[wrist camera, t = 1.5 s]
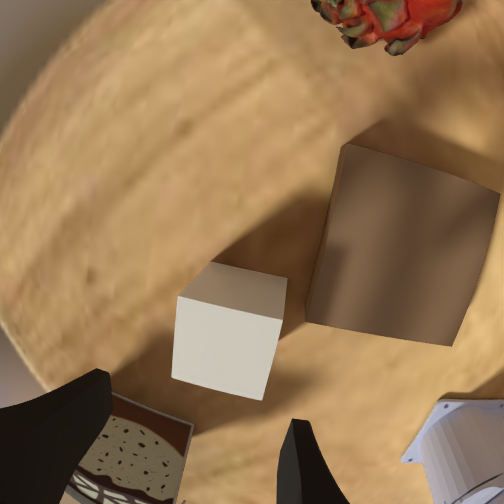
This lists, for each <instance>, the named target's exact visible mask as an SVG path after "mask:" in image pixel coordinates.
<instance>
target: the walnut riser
mask: <svg viewBox="0 0 504 504" xmlns="http://www.w3.org/2000/svg"><path fill="white" fill-rule="evenodd" d="M499 199H500V193H497V192H495V191H493V190H490V189H488V188H485V187H483V186H480V185H478V184H475V183H473V182H470V181H467V180H465V179H462V178H459V177H457V176H454V175H451V174H448V173H446V172H443V171H440V170H437V169H434V168H431V167H428V166H425V165H422V164H419V163H416V162H413V161H410V160H406V159H403V158H400V157H396V156H393V155H390V154H386V153H383V152H379V151H375V150H372V149H368V148H364V147H361V146H357V145H353V144H349V143H347V144H345V145H343V146H342V147H341V150H340V155H339V160H338V165H337V170H336V175H335V180H334V185H333V189H332V194H331V199H330V203H329V208H328V212H327V217H326V221H325V226H324V230H323V234H322V239H321V243H320V247H319V251H318V255H317V259H316V263H315V267H314V271H313V275H312V279H311V283H310V287H309V291H308V295H307V299H306V302H305V317H306V322H310V323H315V324H320V325H325V326H330V327H335V328H340V329H346V330H351V331H357V332H362V333H368V334H374V335H379V336H385V337H391V338H397V339H404V340H410V341H416V342H423V343H430V344H437V345H444V346H451V347H452V345H453V342H454V340H455V338H456V336H457V333H458V331H459V329H460V326H461V324H462V321H463V319H464V316H465V314H466V311H467V309H468V306H469V303H470V301H471V298H472V295H473V292H474V290H475V287H476V284H477V281H478V278H479V275H480V272H481V269H482V265H483V262H484V259H485V256H486V252H487V249H488V245H489V241H490V238H491V234H492V230H493V226H494V222H495V217H496V213H497V208H498V204H499Z"/></svg>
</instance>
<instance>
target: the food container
mask: <svg viewBox="0 0 504 504" xmlns="http://www.w3.org/2000/svg"><path fill="white" fill-rule="evenodd" d="M112 399H113V406H114V409H113V411H112V413H111V415H110V417H109V419H108V421H107V423H106V425H105V427H104V428H103V430H102V431H101V433H100V434H99V436H98V437H97V439H96V440H95V442H94V443H93V444H92V446H91V447H90V449H89V450H88V451H87V453H86V454H85V456H84V457H83V459H82V460H81V461H80V463H79V464H78V466H77V468H76V469H75V471H74V473H73V475H72V477H71V479H70V481H69V483H68V485H67V487H66V489H65V491H64V492H66V493H67V494H68V495H70V496H71V497H72V498H74V499H75V500H77V501H78V502H79V503H81V504H176V500H177V496H178V491H179V487H180V483H181V479H182V475H183V471H184V466H185V462H186V458H187V454H188V450H189V446H190V442H191V438H192V434H193V430H194V426H195V424H193V423H190V422H187V421H184V420H181V419H178V418H176V417H173V416H170V415H168V414H165V413H162V412H160V411H157V410H155V409H152V408H149V407H147V406H145V405H142V404H140V403H137V402H135V401H133V400H130V399H128V398H126V397H123V396H121V395H119V394H117V393H114V392H112ZM185 502H186V501H185V500H184V501H183V502H182V503H181V504H185Z"/></svg>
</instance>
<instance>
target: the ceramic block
mask: <svg viewBox="0 0 504 504" xmlns="http://www.w3.org/2000/svg"><path fill="white" fill-rule="evenodd" d="M287 279H288V278H285V277H280V276H275V275H271V274H266V273H261V272H257V271H252V270H247V269H243V268H238V267H234V266H229V265H224V264H220V263H215V262H211V261H210V262H209V263H208V264H207V265H206V266H205V267H204V268H203V269H202V271H201V272H200V273H199V274H198V275H197V276H196V277H195V278H194V279H193V280H192V281H191V282H190V283H189V284H188V286H187V287H186V288H185V289H184V290H183V291H182V292H181V293H180V294H179V295H178V300H177V311H176V322H175V334H174V347H173V361H172V377H171V378H174V379H178V380H181V381H185V382H188V383H192V384H195V385H199V386H202V387H206V388H210V389H214V390H218V391H222V392H226V393H230V394H234V395H238V396H243V397H247V398H252V399H256V400H261V401H262V398H263V395H264V391H265V387H266V384H267V380H268V376H269V373H270V369H271V365H272V361H273V358H274V354H275V350H276V346H277V342H278V338H279V334H280V330H281V326H282V322H283V316H284V307H285V298H286V288H287Z"/></svg>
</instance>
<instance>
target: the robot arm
mask: <svg viewBox="0 0 504 504" xmlns="http://www.w3.org/2000/svg"><path fill="white" fill-rule="evenodd" d="M446 404H447V405H446ZM113 409H114V406H113V399H112V391H111V383H110V373H108V372H106V371H103V370H100V369H98V368H96V369H94V370H92V371H90V372H88V373H86V374H84V375H83V376H81V377H79V378H77V379H75V380H73V381H71V382H69V383H67V384H65V385H63V386H61V387H59V388H58V389H55V390H53V391H51V392H49V393H46V394H44V395H42V396H40V397H37V398H35V399H33V400H30V401H27V402H24V403H21V404H17V405H13V406H9V407H5V408H0V504H59V503H60V500H61V498H62V496H63V494H64V491H65V489H66V487H67V485H68V483H69V481H70V479H71V477H72V475H73V473H74V471H75V469H76V468H77V466H78V464H79V463H80V461H81V460H82V459H83V457H84V456H85V454H86V453H87V451H88V450H89V449H90V447H91V446H92V444H93V443H94V442H95V440H96V439H97V437H98V436H99V434H100V433H101V431H102V430H103V428H104V427H105V425H106V423H107V421H108V419H109V417H110V415H111V413H112V411H113ZM401 462H402V463H422V464H423V468H424V471H425V474H426V478H427V481H428V484H429V488H430V491H431V495H432V499H433V502H434V504H504V400H460V399H441V400H439V401H438V402H437V403H436V405H435V406H434V408H433V410H432V411H431V413H430V415H429V416H428V418H427V419H426V421H425V423H424V424H423V426H422V427H421V429H420V431H419V432H418V434H417V435H416V437H415V438H414V440H413V441H412V443H411V444H410V446H409V447H408V448H407V450H406V451H405V453H404V454H403V455H402V457H401ZM277 504H350V503H349V502H348V500H347V499H346V498H345V496H344V495H343V493H342V492H341V490H340V488H339V487H338V485H337V483H336V482H335V480H334V478H333V476H332V474H331V472H330V471H329V469H328V467H327V464H326V462H325V460H324V458H323V456H322V454H321V451H320V449H319V446H318V444H317V441H316V439H315V436H314V433H313V430H312V427H311V424H310V422H309V421H307V420H300V419H292V421H291V423H290V426H289V429H288V432H287V434H286V437H285V440H284V442H283V445H282V448H281V450H280V456H279V463H278V471H277Z"/></svg>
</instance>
